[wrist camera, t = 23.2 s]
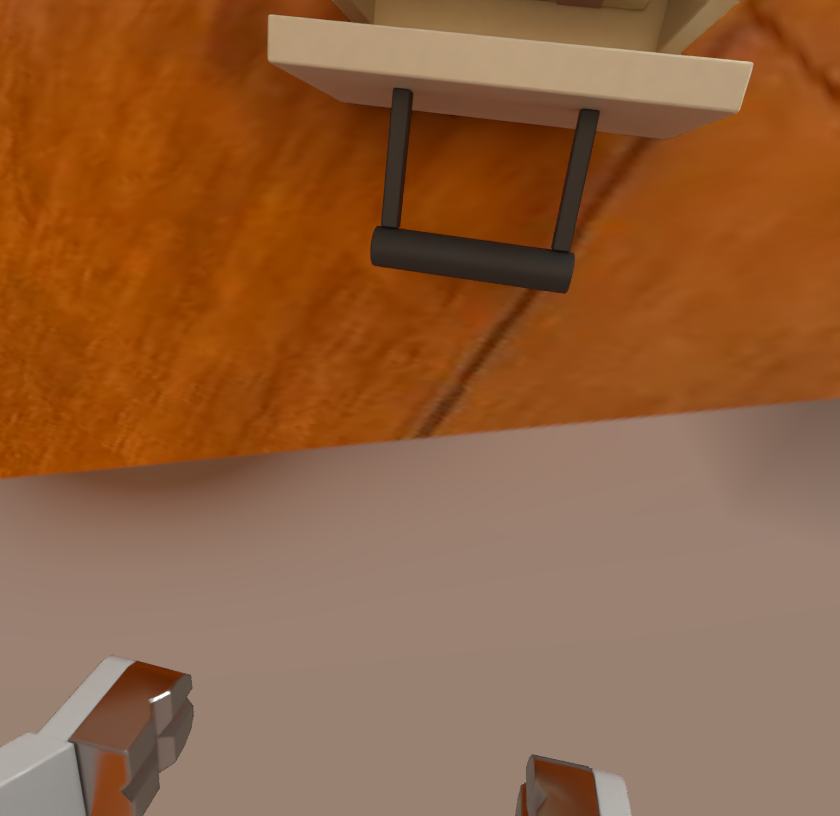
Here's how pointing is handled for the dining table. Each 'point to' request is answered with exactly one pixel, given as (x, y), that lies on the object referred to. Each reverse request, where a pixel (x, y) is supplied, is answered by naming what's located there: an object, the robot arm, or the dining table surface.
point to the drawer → (511, 96)
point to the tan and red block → (604, 3)
